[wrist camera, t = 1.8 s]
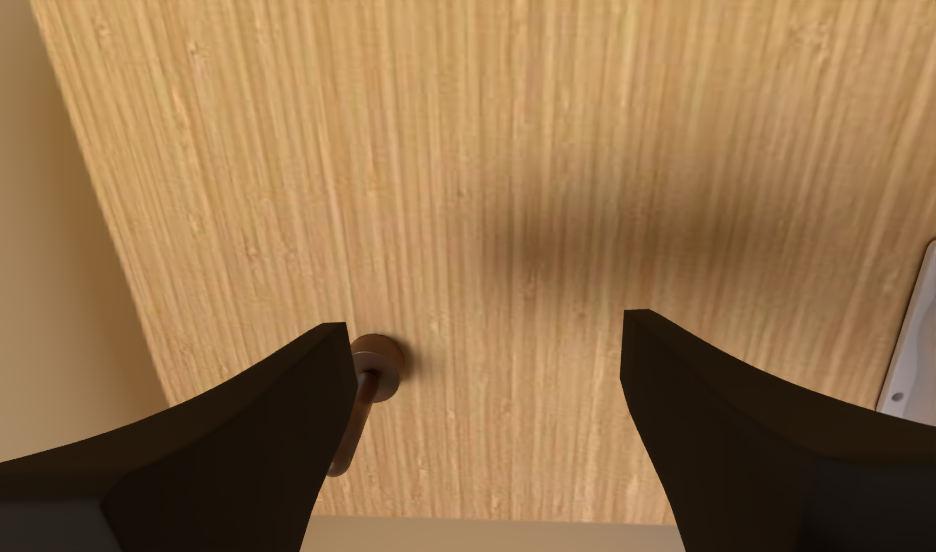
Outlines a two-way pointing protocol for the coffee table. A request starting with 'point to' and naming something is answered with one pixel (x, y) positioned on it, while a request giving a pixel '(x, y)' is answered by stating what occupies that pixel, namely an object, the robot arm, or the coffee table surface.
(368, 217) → the coffee table surface
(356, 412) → the wooden peg stamp
